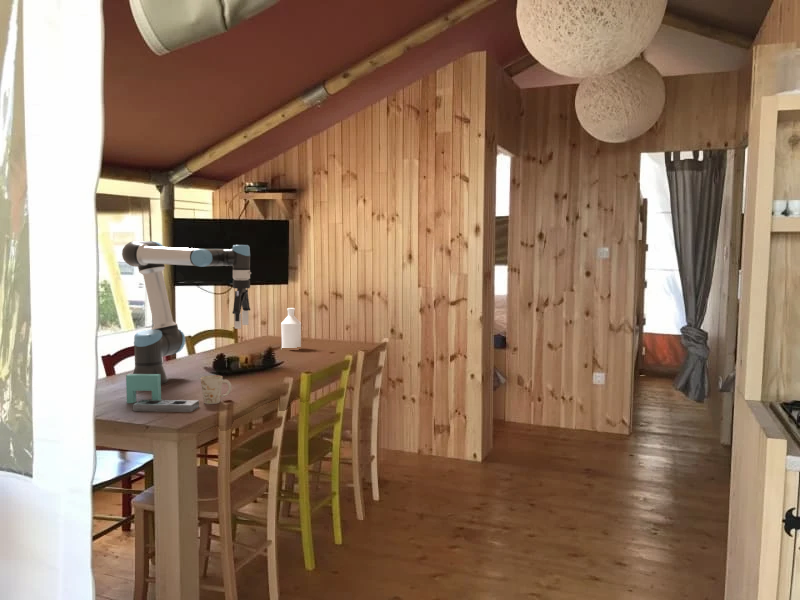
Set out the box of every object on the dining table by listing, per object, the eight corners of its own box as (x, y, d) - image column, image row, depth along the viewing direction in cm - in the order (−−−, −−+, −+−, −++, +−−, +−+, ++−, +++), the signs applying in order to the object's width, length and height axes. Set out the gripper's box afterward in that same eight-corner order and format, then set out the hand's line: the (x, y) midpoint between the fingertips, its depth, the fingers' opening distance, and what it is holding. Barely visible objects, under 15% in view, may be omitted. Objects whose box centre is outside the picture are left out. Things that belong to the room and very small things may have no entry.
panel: (126, 403, 254) (126, 375, 253) (130, 401, 257) (129, 373, 256) (158, 403, 253) (157, 375, 252) (161, 401, 256) (160, 374, 255)
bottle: (294, 347, 401) (294, 307, 399) (305, 349, 392) (304, 308, 390) (277, 349, 393) (277, 308, 391) (287, 351, 384) (287, 309, 382)
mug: (197, 402, 255) (196, 377, 255) (225, 397, 264) (225, 373, 263) (207, 405, 250) (206, 380, 249) (236, 400, 258) (236, 375, 258)
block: (132, 411, 241) (132, 404, 241) (142, 406, 249) (142, 399, 249) (191, 411, 240) (191, 405, 240) (198, 406, 248) (198, 400, 248)
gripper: (243, 281, 278) (243, 330, 280) (256, 278, 303) (256, 323, 304) (225, 280, 278) (225, 330, 280) (240, 278, 303) (240, 323, 304)
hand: (241, 326), depth 292 cm, fingers open, 13 cm apart
